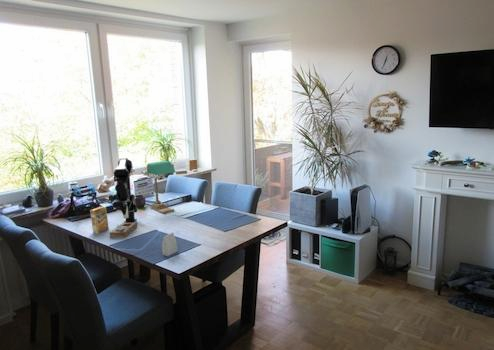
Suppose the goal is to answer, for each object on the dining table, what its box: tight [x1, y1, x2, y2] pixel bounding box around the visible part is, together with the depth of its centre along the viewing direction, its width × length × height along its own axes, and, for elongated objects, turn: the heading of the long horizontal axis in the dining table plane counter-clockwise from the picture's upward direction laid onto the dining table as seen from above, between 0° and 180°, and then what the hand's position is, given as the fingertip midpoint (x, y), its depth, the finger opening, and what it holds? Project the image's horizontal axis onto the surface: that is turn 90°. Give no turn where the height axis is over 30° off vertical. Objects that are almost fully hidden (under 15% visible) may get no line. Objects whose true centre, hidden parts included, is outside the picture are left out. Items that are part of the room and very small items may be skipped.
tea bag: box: [161, 232, 178, 257], centre depth 199 cm, size 4×7×10 cm, turn 146°
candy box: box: [89, 205, 110, 234], centre depth 236 cm, size 9×4×15 cm, turn 150°
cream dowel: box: [122, 203, 129, 219], centre depth 235 cm, size 3×3×9 cm
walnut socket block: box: [109, 222, 138, 239], centre depth 232 cm, size 18×9×4 cm, turn 174°
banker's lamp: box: [146, 160, 176, 215], centre depth 276 cm, size 16×21×35 cm
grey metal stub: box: [116, 223, 123, 231], centre depth 227 cm, size 3×3×6 cm
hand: (125, 214), depth 235 cm, fingers closed on cream dowel, 3 cm apart
